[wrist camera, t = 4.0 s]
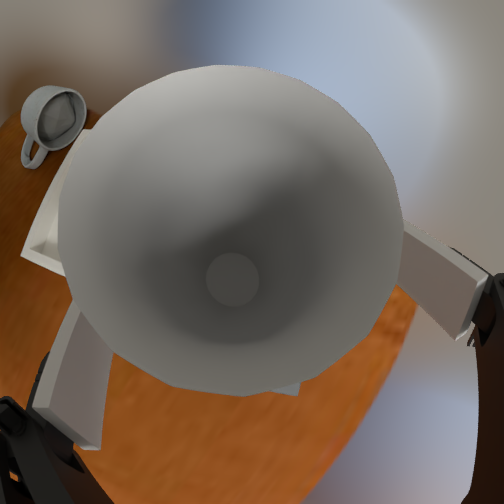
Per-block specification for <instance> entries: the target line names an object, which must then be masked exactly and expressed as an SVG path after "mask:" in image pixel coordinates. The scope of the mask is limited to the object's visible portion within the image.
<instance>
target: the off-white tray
mask: <svg viewBox="0 0 504 504" xmlns="http://www.w3.org/2000/svg"><path fill="white" fill-rule="evenodd" d="M90 131H91V130H86V129H83V130H82V132H81V133H80V135H79V136H78V138H77V140H76V141H75V143H74V144H73V146H72V148H71V149H70V151H69V152H68V154H67V156H66V158H65V159H64V161H63V163H62V164H61V166H60V168H59V170H58V172H57V174H56V175H55V177H54V179H53V181H52V183H51V185H50V187H49V189H48V191H47V193H46V195H45V197H44V199H43V201H42V203H41V206H40V208H39V210H38V212H37V215H36V217H35V219H34V222H33V224H32V226H31V229H30V231H29V234H28V237H27V239H26V242H25V245H24V247H23V250H22V253H21V256H22V257H24V258H26V259H28V260H30V261H32V262H34V263H36V264H38V265H40V266H43V267H45V268H47V269H49V270H51V271H53V272H56V273H58V274H60V275H62V276H65V273H64V269H63V266H62V263H61V259H60V255H59V252H58V208H59V197H60V194H61V191H62V187H63V184H64V181H65V179H66V176H67V173H68V170H69V167H70V165H71V162H72V159H73V157H74V154H75V153H76V151H77V150H78V148H79V147H80V145H81V144H82V142H83V141H84V139H85V138H86V137H87V135H88V134H89V133H90ZM65 277H66V276H65Z"/></svg>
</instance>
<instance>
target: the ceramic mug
mask: <svg viewBox="0 0 504 504" xmlns="http://www.w3.org/2000/svg"><path fill="white" fill-rule="evenodd" d="M86 114H87V109H86V103H85V101H84V99H83V97H82V95H81V94H80V93H79V92H78V91H76V90H74V89H70V88H64V87H57V86H44V87H42V88H39V89H37V90H36V91H34V92H33V93H32V94H31V95H30V96H29V97H28V98H27V100H26V101H25V103H24V105H23V107H22V111H21V123H22V126H23V128H24V130H25V131H26V133H27V137H26V139H25V142H24V144H23V148H22V152H21V161H22V164H23V166H24V167H25V168H29V169H36V168H37V167H39V166H40V165H41V163H42V162H43V160H44V158H45V157H46V155H47V153H48V151H49V150H50V151H55V150H60V149H62V148H65V147H66V146H67V145H69V144H70V143H71V142H73V141H74V140H75V138H76V137H77V136H78V135H79V133H80V132H81V130H82V128H83V126H84V123H85V120H86ZM34 140H35V141H36V142H37V143H38V144H39V145H40V146H39V149H38V151H37V153H36V155H35V157H34V158H33V160H32V161H30V157H29V155H30V151H31V147H32V144H33V141H34Z"/></svg>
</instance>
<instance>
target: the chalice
mask: <svg viewBox="0 0 504 504" xmlns="http://www.w3.org/2000/svg"><path fill="white" fill-rule="evenodd" d="M403 232H404V223H403V217H402V212H401V207H400V203H399V198H398V194H397V190H396V185H395V181H394V177H393V175H392V173H391V171H390V169H389V167H388V165H387V163H386V162H385V160H384V158H383V156H382V154H381V153H380V151H379V149H378V147H377V146H376V144H375V142H374V141H373V139H372V137H371V136H370V134H369V133H368V132H367V131H366V130H365V129H364V128H363V127H362V126H361V125H360V124H359V123H358V122H357V121H356V120H355V119H354V118H353V117H352V116H351V115H350V114H349V113H348V112H347V111H346V110H345V109H344V108H343V107H342V106H341V105H340V104H339V103H338V102H336V101H335V100H333V99H331V98H330V97H328V96H326V95H325V94H323V93H322V92H320V91H318V90H317V89H315V88H313V87H312V86H310V85H308V84H306V83H304V82H303V81H301V80H298V79H295V78H292V77H289V76H286V75H283V74H279V73H276V72H273V71H270V70H266V69H263V68H258V67H246V66H230V65H213V66H206V67H200V68H195V69H189V70H184V71H179V72H174V73H172V74H169V75H167V76H165V77H163V78H160V79H158V80H156V81H153V82H151V83H149V84H147V85H145V86H143V87H141V88H138V89H136V90H135V91H133V92H132V93H130V94H129V95H128V96H127V97H125V98H124V99H123V100H121V101H120V102H119V103H118V104H116V105H115V106H114V107H113V108H112V109H110V110H109V111H108V112H107V113H106V114H104V115H103V116H102V117H101V118H100V119H99V121H98V122H97V123H96V124H95V126H94V127H93V128H92V130H91V131H90V133H89V134H88V135H87V137H86V138H85V139H84V141H83V142H82V144H81V145H80V147H79V148H78V150H77V151H76V153H75V154H74V157H73V159H72V162H71V165H70V167H69V170H68V173H67V176H66V179H65V181H64V184H63V187H62V191H61V194H60V197H59V208H58V252H59V255H60V259H61V263H62V266H63V269H64V273H65V276H66V279H67V282H68V285H69V288H70V291H71V294H72V297H73V300H74V302H75V303H76V305H77V306H78V308H79V309H80V311H81V312H82V313H83V315H84V316H85V317H86V319H87V320H88V321H89V323H90V324H91V325H92V327H93V328H94V329H95V331H96V332H97V333H98V334H99V336H100V337H101V338H102V339H103V341H104V342H105V343H106V344H107V345H108V347H109V348H110V349H111V350H112V351H113V352H115V353H116V354H118V355H119V356H121V357H122V358H124V359H125V360H127V361H129V362H130V363H132V364H133V365H135V366H137V367H138V368H140V369H142V370H143V371H145V372H147V373H148V374H150V375H152V376H154V377H155V378H157V379H159V380H161V381H163V382H165V383H166V384H168V385H170V386H173V387H178V388H184V389H189V390H196V391H202V392H209V393H216V394H224V395H233V396H243V397H245V396H250V395H254V394H258V393H262V392H266V391H270V390H274V389H278V388H282V387H285V386H289V385H292V384H296V383H299V382H302V381H306V380H309V379H312V378H315V377H316V376H318V375H319V374H320V373H322V372H323V371H324V370H326V369H327V368H328V367H330V366H331V365H332V364H334V363H335V362H336V361H337V360H339V359H340V358H341V357H342V356H344V355H345V354H346V353H347V352H349V351H350V350H351V349H352V348H353V347H355V346H356V345H357V344H358V343H359V342H361V341H362V340H363V339H364V338H365V337H366V336H368V334H369V333H370V331H371V329H372V328H373V326H374V324H375V322H376V321H377V319H378V317H379V315H380V313H381V312H382V310H383V308H384V306H385V304H386V302H387V300H388V298H389V296H390V295H391V293H392V291H393V289H394V287H395V285H396V283H397V280H398V273H399V267H400V259H401V251H402V242H403Z"/></svg>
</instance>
